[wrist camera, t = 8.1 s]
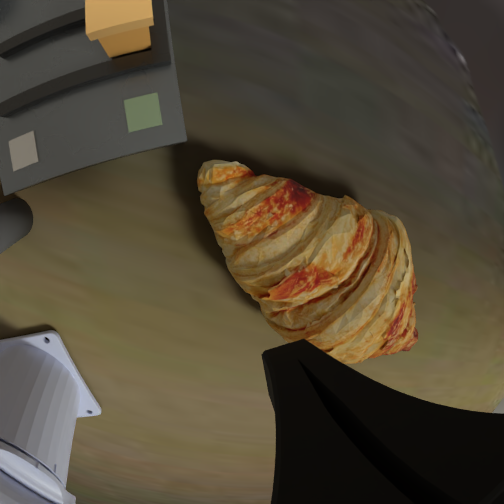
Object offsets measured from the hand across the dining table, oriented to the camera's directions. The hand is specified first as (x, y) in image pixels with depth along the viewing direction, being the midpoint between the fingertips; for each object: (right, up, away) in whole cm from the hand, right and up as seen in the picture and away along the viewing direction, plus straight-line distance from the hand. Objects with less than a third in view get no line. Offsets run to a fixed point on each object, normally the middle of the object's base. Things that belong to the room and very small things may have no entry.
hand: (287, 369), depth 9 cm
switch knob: (-7, +14, +2) cm, 16 cm away
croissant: (+4, +3, +12) cm, 13 cm away
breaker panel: (-10, +14, +4) cm, 18 cm away
